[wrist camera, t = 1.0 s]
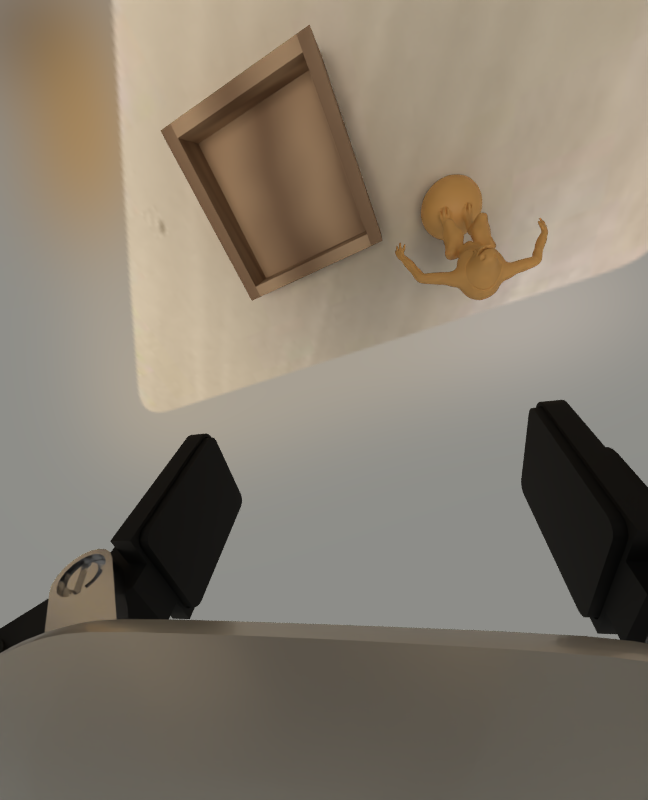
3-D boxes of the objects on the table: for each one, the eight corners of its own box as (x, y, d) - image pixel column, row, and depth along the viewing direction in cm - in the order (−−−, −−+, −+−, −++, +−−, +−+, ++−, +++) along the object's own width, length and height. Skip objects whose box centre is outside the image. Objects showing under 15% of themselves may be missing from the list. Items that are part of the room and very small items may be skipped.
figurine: (508, 163, 24) (608, 141, 14) (501, 255, 27) (579, 294, 17) (386, 188, 26) (395, 186, 15) (393, 272, 28) (403, 317, 18)
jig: (319, 51, 22) (309, 24, 19) (381, 234, 27) (382, 240, 24) (190, 139, 25) (160, 130, 22) (266, 287, 30) (251, 300, 27)
